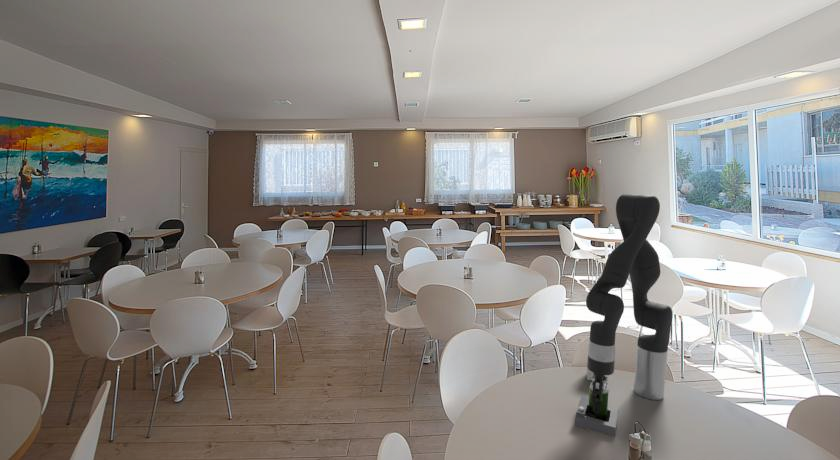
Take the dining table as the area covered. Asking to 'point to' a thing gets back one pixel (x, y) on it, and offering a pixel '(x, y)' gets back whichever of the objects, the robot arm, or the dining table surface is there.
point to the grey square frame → (594, 423)
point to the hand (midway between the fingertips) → (598, 405)
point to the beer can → (604, 405)
